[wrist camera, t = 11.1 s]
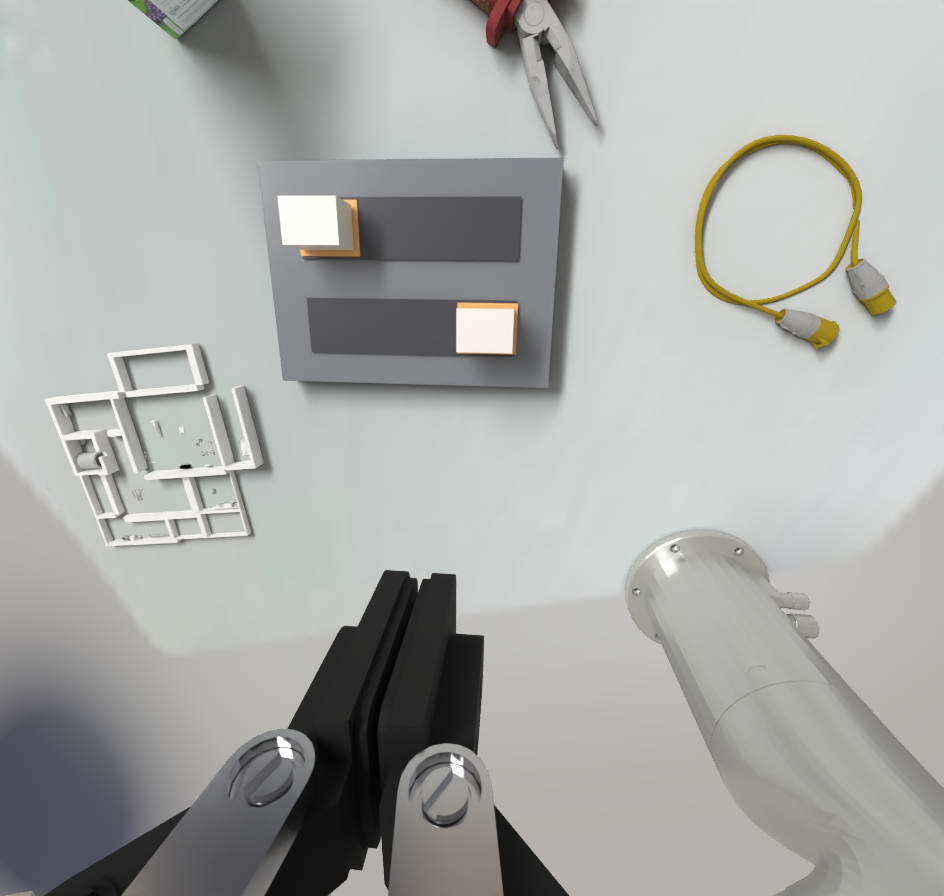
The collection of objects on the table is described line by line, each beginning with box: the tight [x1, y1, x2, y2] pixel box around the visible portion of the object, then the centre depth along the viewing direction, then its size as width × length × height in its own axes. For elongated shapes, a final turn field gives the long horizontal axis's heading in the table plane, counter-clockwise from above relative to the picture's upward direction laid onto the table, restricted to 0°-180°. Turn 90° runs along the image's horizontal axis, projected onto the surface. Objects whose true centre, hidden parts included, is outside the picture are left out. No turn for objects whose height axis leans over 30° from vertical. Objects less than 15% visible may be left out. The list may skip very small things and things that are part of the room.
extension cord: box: [695, 135, 896, 349], centre depth 33 cm, size 12×16×2 cm
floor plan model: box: [45, 344, 264, 546], centre depth 41 cm, size 19×25×2 cm
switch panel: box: [258, 158, 564, 388], centre depth 35 cm, size 22×16×2 cm
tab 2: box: [456, 308, 514, 354], centre depth 33 cm, size 4×3×3 cm
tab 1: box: [277, 196, 354, 250], centre depth 31 cm, size 4×3×3 cm
